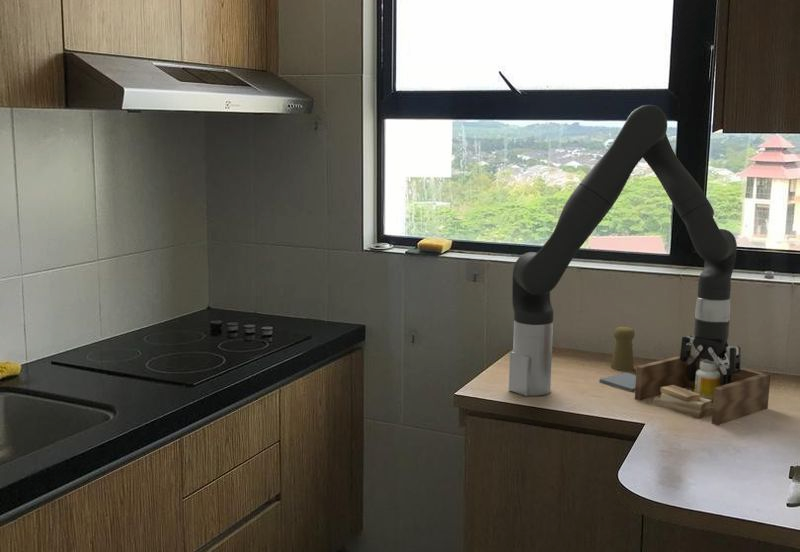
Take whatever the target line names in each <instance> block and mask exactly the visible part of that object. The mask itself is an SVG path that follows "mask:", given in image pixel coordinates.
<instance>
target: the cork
mask: <svg viewBox="0 0 800 552" xmlns="http://www.w3.org/2000/svg"><path fill="white" fill-rule="evenodd" d="M613 331H614V333H613V336H614V338H615V343H614V347H613V352H612V356H611V357H612V359H611V362H610V363H611V364H610V369H612V370H614V371H618V372H619V371H620V372H632V371H634V370H635V366H634V365H635V363H634V349H633V339H634V338H635V331H634V329H633V328H632V327H629V326H618V327H616V328H615V329H614V330H613Z"/></svg>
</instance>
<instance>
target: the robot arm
mask: <svg viewBox="0 0 800 552" xmlns="http://www.w3.org/2000/svg"><path fill="white" fill-rule="evenodd" d="M667 131H668V120H667V116H666V114H665V112H664V110H663V109H662V108H661V107H658V106H656V105H655V104H654V105H653V104H644V105H641V106H639V107H637V108H635V109H633V111H631V113H630V114H629V115H628V116H627V119H626V121H625V122H624V124H623V125H622V127H621V129H620V131H619V132H618V134H617V135H616V137H615V139H614V140H613V142H612V144H611V145H610V147H608V149H607V151H606V152H605V153H604V154H603V155H602V156H601V158H600V159H599V160H598V161H597V162H596V163H595V164H594V165H593V167H592V168H591V169H590V170H589V171H588V172H587V174H586V175H585V176H584V178H583V179H582V180H581V181H580V183H578V185H577V186H576V188H575V189H574V191H573V192H572V193H571V194H570V196H569V198H568V199H567V201H566V202H565V204H564V206H563V208H562V210H561V213H560V215H559V217H558V220H557V223H556V226H555V228H554V229H553V230H554V231H552V234H551V235H550V237H549V238H548V239H547V241H546V242H544V244H543V246H542V247H541V248H540V249H539V250H538V251H537V252H535V251H534V252H533V251H531V252H529V251H528V252H526V253H523V254H522V255H520V256H519V257H518V258H517V259H516V261H515V263H514V265H513V269H512V287H511V288H512V289H511V290H512V295H511V297H512V298H511V300H512V301H511V302H512V309H513V340H512V341H513V342H512V343H513V344H512V351H510V353H509V367H508V368H509V373H508V391H510V392H514V393H517V394H519V395H521V396H524V397H528V396H535V397H536V396H544V395H547V394H549V393H550V392H551V385H552V384H551V382H552V359H553V358H552V357H553V356H552V355H553V354H552V353H553V335H554V333H553V331H554V310H553V309H554V308H553V306H552V302H551V292H552V291H553V290H554V289H555V288H556V286H557V285H558V283H559V282H560V280H561V278H562V277H563V275H564V273H565V272H566V270H567V268H568V266H569V265H570V264H571V262H572V260H573V258H574V257H575V255H576V254H577V253H578V251H579V250H580V248H582V246H583V245H584V244H585V242H586V241H587V239H589V237H590V236H591V234H593V232H594V231H595V230H596V228H597V227H598V226H599V224H600V223H601V222H602V221H603V220H604V218H605V217H606V215H608V213H609V212H610V210H611V209H612V208H613V206H614V205H615V203H616V202H617V199H618V198H619V197H620V195H621V194H622V191H623V190H624V188H625V186H626V184H627V182H628V180H629V179H630V176H631V175H632V173H633V171H634V169H635V168H636V167H637V166H638V164H639V163H640V161H641V160H642V159H643V160H644V161H645V162H646V163H647V165H648V166H649V168H650V169H651V170H652V172H653V173H654V175H655V176H656V178H657V179H658V181H659V182H660V184H661V186H662V187H663V189H664V191H665V192H666V194H667V196H668V198H669V200H670V201H671V203H672V205H673V207H674V208H675V210H676V211H677V213H678V215H679V217H680V218H681V221H683V223H684V225H685V228H686V230H687V232H688V235H689V237H690V241H691V242H692V246H693V248H694V249H695V252H696V253H697V254H698V255H699V257H700V258H701V259H702V260H704V265H703V270H702V271H701V273H700V274H699V276H698V282H697V297H696V303H695V311H694V312H695V314H694V315H695V316H694V330H693V334H694V335H693V336H694V337H693V336H692V335H685V336H682V337H681V345H680V351H679V352H680V355H679V356H680V360H681V361H684V362H685V363H686V364H687V378H688V380H689V381H695V378H696V372H697V365H695V364H696V363H697V362H698V361H699V359H707V360H709V361H712V362H714V361H715V363H716V365H717V366H719V368H720V369H721V371H722V373H723V374H721V386H722V385H726V384H729V383H731V374H734V373H737V372H740V367H741V352H742V351H741V347H740V346H738V345H737V346H733V345H732V346H729V344H728V339H729V337H730V336H729V334H730V333H729V332H730V321H731V288H732V285H731V284H732V275H733V273H734V272H733V270H734V268H735V263H736V259H737V258H736V257H737V250H738V249H737V248H738V245H737V239H736V237H735V235H734V234H733V233H732V232H731V231H729V230H727V229H723V228H719V226H718V224H717V223H716V220H715V219H714V215H715V210H714V208H713V206H712V204H711V202H710V201H709V199H708V197H707V195H706V194H705V192H704V191H703V190H702V187H701V186H700V185H699V183H698V182H697V181H696V179H695V178H694V177H693V176H692V175H691V174H690V172H689V171H688V170H687V169H686V168H685V165H683V164H682V163H681V161H680V159H679V158H678V157H677V155H676V153H675V151H674V149H673V147H672V145H671V143H670V141H669V138H668V135H667ZM692 347H694V348H695V350H694V351H693V352H692ZM690 356H691V357H690ZM728 356H729V357H728Z"/></svg>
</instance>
